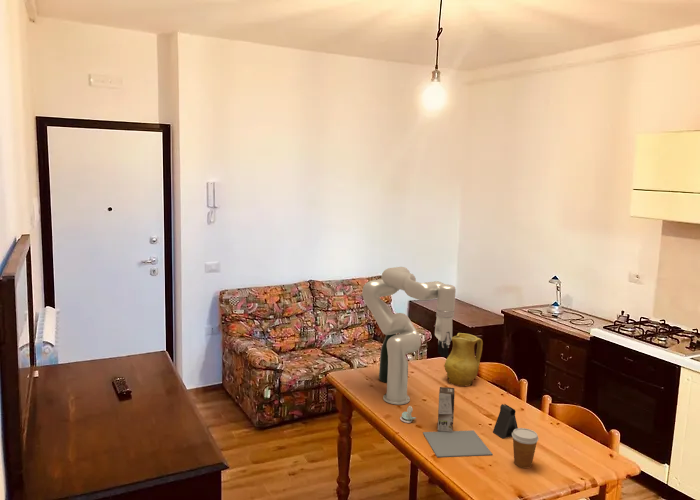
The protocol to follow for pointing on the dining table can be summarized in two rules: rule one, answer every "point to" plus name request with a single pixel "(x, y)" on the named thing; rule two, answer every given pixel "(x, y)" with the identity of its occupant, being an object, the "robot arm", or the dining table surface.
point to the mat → (456, 444)
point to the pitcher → (463, 359)
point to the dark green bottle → (384, 360)
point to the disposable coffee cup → (524, 446)
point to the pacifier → (407, 415)
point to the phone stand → (505, 422)
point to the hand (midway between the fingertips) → (442, 354)
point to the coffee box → (446, 409)
